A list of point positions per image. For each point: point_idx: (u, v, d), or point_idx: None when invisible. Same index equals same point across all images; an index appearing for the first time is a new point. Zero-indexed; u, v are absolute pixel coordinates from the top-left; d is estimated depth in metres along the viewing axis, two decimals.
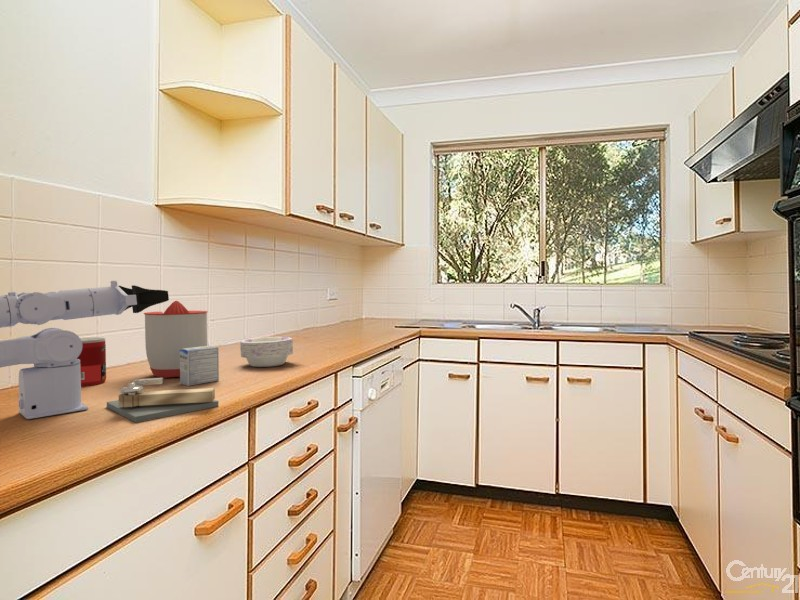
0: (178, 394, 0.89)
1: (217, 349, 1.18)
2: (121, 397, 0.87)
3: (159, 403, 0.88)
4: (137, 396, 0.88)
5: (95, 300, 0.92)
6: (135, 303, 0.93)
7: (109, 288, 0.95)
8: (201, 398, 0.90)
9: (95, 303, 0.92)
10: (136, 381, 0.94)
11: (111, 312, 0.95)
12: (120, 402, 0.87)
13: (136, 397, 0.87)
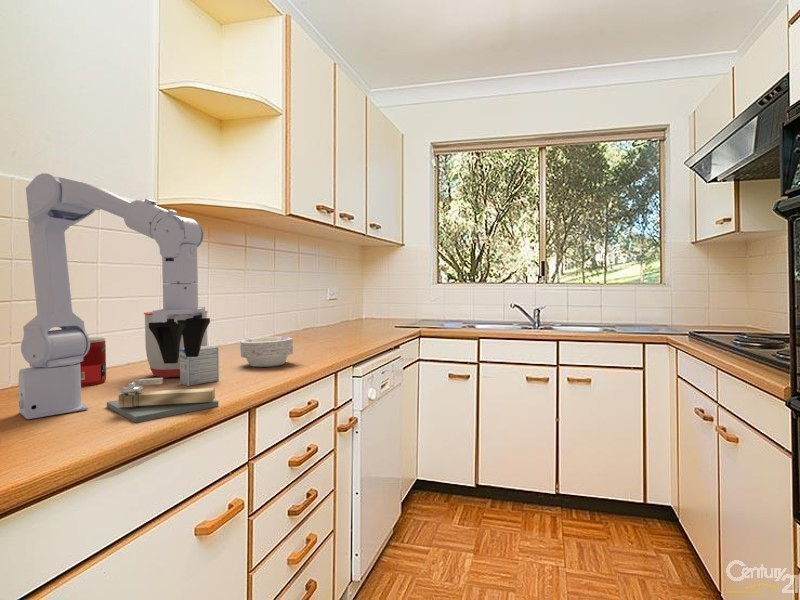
0: (178, 394, 0.89)
1: (217, 349, 1.17)
2: (121, 397, 0.87)
3: (159, 403, 0.88)
4: (137, 396, 0.88)
5: (174, 286, 0.81)
6: (153, 320, 0.77)
7: (190, 303, 0.83)
8: (201, 398, 0.90)
9: (171, 286, 0.82)
10: (136, 381, 0.94)
11: (163, 302, 0.83)
12: (120, 402, 0.87)
13: (136, 397, 0.87)
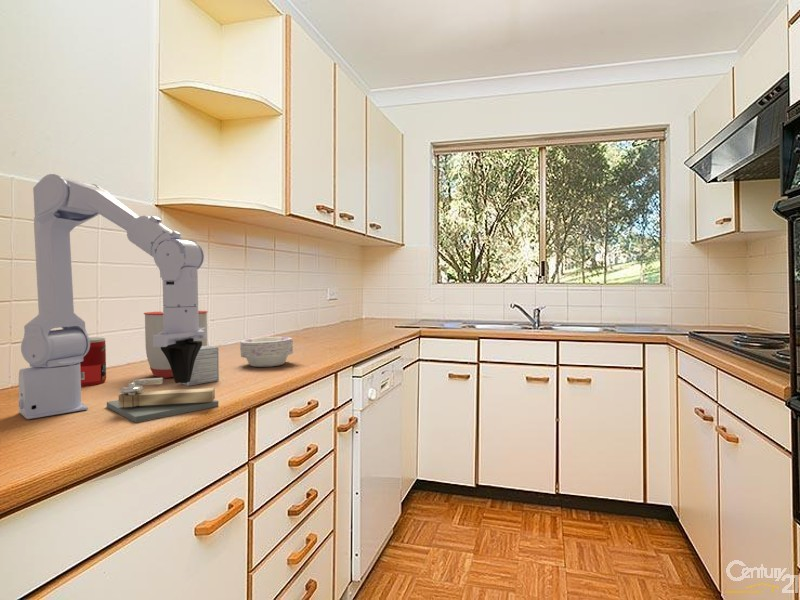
0: (178, 394, 0.89)
1: (217, 349, 1.18)
2: (121, 397, 0.87)
3: (159, 403, 0.88)
4: (137, 396, 0.88)
5: (175, 309, 0.81)
6: (154, 345, 0.77)
7: (191, 326, 0.83)
8: (201, 398, 0.90)
9: (172, 309, 0.82)
10: (136, 381, 0.94)
11: None
12: (120, 402, 0.87)
13: (136, 397, 0.87)
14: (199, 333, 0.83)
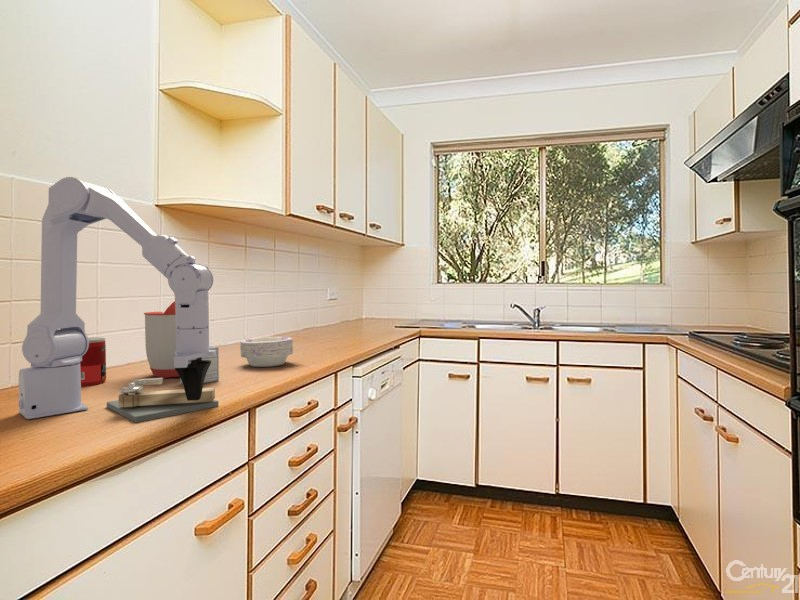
0: (178, 394, 0.89)
1: (217, 349, 1.17)
2: (121, 397, 0.87)
3: (159, 403, 0.88)
4: (137, 396, 0.88)
5: (190, 331, 0.86)
6: (175, 366, 0.81)
7: (204, 346, 0.88)
8: (201, 398, 0.90)
9: (187, 331, 0.86)
10: (136, 381, 0.94)
11: (176, 346, 0.87)
12: (120, 403, 0.87)
13: (136, 397, 0.87)
14: (212, 353, 0.88)
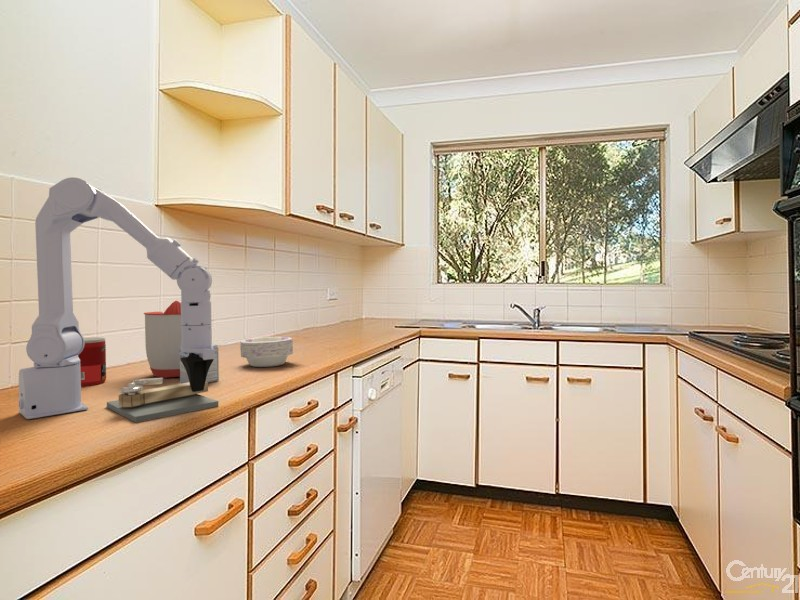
0: (180, 388, 0.94)
1: (217, 349, 1.18)
2: (128, 397, 0.87)
3: (163, 399, 0.92)
4: (142, 394, 0.89)
5: (203, 327, 0.94)
6: (205, 358, 0.90)
7: (211, 341, 0.97)
8: None
9: (200, 327, 0.94)
10: (136, 381, 0.94)
11: (187, 342, 0.93)
12: (126, 403, 0.87)
13: (142, 395, 0.89)
14: (217, 346, 0.98)
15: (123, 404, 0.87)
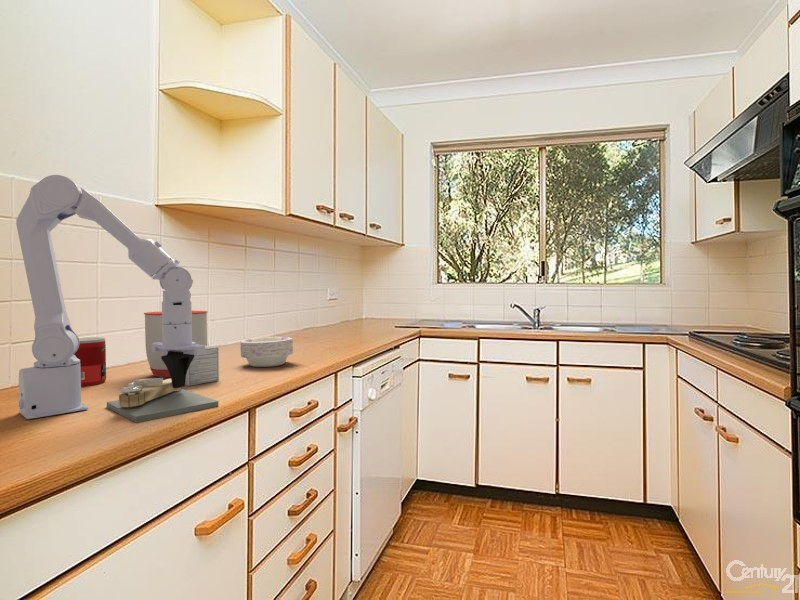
0: (165, 385, 0.97)
1: (217, 349, 1.18)
2: (135, 396, 0.87)
3: (156, 396, 0.94)
4: (143, 393, 0.90)
5: (187, 325, 0.99)
6: (198, 354, 0.96)
7: None
8: None
9: (184, 325, 0.98)
10: (136, 381, 0.94)
11: (172, 340, 0.97)
12: (133, 402, 0.87)
13: (143, 394, 0.90)
14: (195, 343, 1.03)
15: (130, 404, 0.87)
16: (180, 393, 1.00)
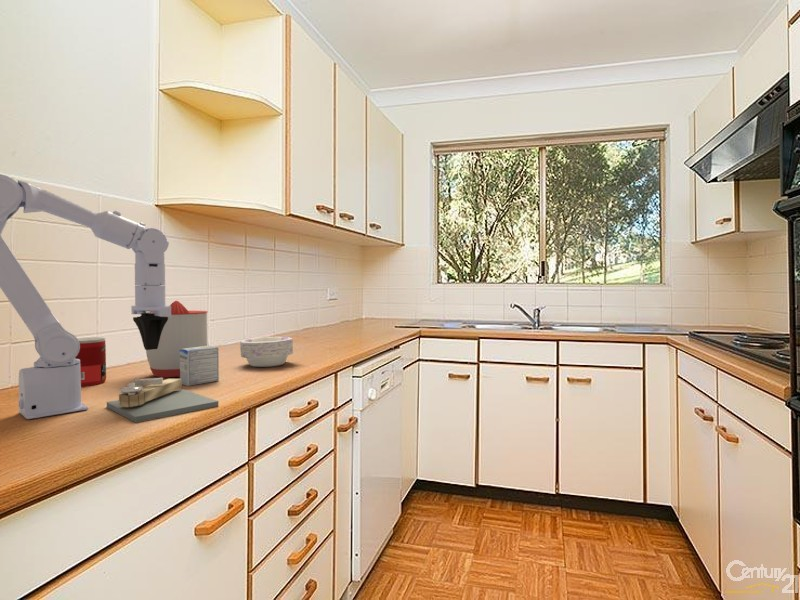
0: (165, 385, 0.97)
1: (217, 349, 1.18)
2: (135, 396, 0.87)
3: (156, 396, 0.94)
4: (143, 393, 0.90)
5: (158, 287, 0.99)
6: (162, 315, 0.95)
7: None
8: (176, 386, 1.01)
9: (155, 287, 0.98)
10: (136, 381, 0.94)
11: (142, 301, 0.97)
12: (133, 402, 0.87)
13: (143, 394, 0.90)
14: (170, 307, 1.03)
15: (129, 404, 0.87)
16: (180, 393, 1.00)
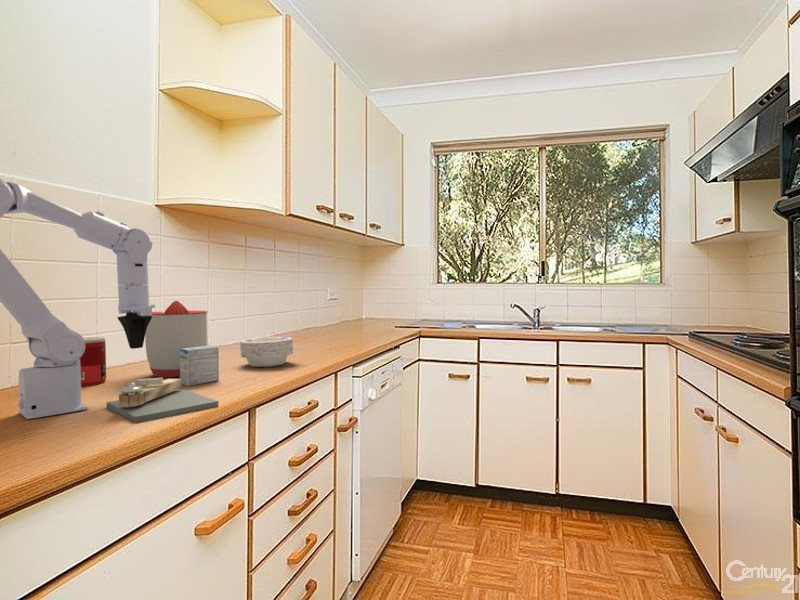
0: (165, 385, 0.97)
1: (217, 349, 1.18)
2: (135, 396, 0.87)
3: (156, 396, 0.94)
4: (143, 393, 0.90)
5: (140, 286, 1.00)
6: (143, 314, 0.96)
7: (148, 300, 1.03)
8: (176, 386, 1.01)
9: (137, 287, 1.00)
10: (136, 381, 0.94)
11: (124, 300, 0.99)
12: (133, 402, 0.87)
13: (143, 394, 0.90)
14: (154, 306, 1.04)
15: (129, 404, 0.87)
16: (180, 393, 1.00)
